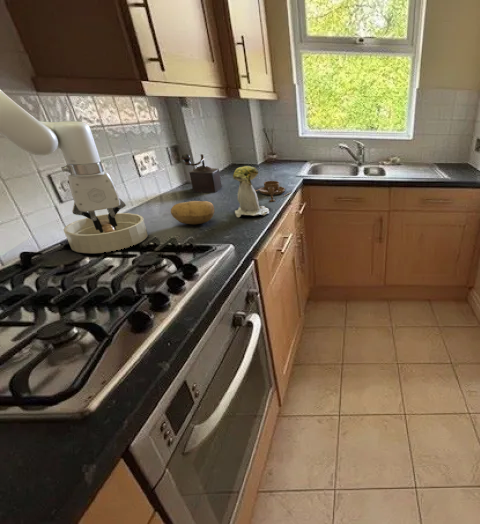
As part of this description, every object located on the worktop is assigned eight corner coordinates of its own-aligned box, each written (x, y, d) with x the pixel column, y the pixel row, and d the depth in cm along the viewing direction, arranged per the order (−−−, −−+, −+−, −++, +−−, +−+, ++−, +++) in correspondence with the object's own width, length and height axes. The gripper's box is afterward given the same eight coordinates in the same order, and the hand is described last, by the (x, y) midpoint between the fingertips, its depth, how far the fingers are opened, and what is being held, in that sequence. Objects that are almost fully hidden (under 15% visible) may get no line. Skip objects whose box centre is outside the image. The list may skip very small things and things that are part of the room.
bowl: (57, 257, 92) (48, 237, 89) (88, 232, 109) (82, 214, 106) (137, 251, 97) (131, 232, 94) (155, 228, 114) (150, 211, 111)
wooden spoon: (118, 235, 98) (115, 227, 97) (106, 237, 96) (103, 229, 95) (108, 223, 106) (105, 215, 105) (97, 225, 104) (94, 217, 103)
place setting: (295, 191, 162) (294, 179, 160) (274, 202, 145) (273, 189, 142) (263, 188, 166) (261, 176, 163) (239, 198, 149) (237, 185, 146)
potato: (177, 220, 121) (172, 198, 118) (218, 218, 125) (215, 197, 121) (170, 229, 113) (164, 207, 109) (214, 227, 116) (210, 205, 113)
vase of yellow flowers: (268, 218, 127) (263, 169, 119) (233, 219, 124) (225, 169, 116) (269, 208, 137) (265, 163, 129) (236, 209, 134) (229, 163, 126)
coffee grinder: (199, 187, 164) (191, 149, 156) (222, 187, 165) (216, 149, 157) (186, 195, 150) (177, 154, 142) (212, 195, 151) (204, 154, 143)
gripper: (49, 175, 85) (75, 240, 94) (123, 168, 96) (141, 227, 104) (46, 170, 90) (71, 233, 98) (117, 164, 100) (135, 221, 109)
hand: (107, 229), depth 101 cm, fingers closed on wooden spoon, 2 cm apart
